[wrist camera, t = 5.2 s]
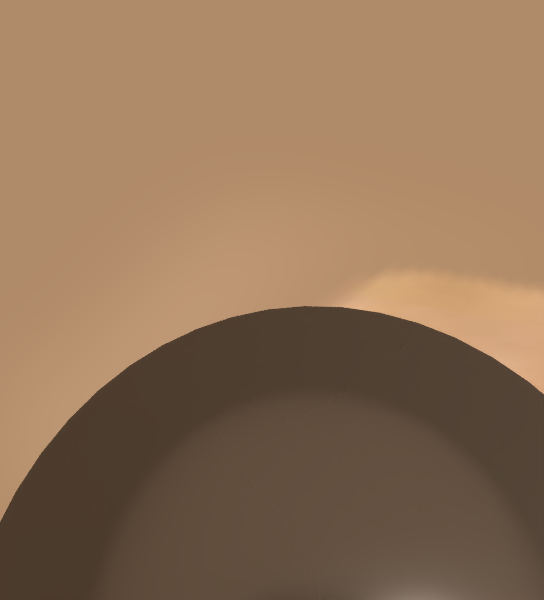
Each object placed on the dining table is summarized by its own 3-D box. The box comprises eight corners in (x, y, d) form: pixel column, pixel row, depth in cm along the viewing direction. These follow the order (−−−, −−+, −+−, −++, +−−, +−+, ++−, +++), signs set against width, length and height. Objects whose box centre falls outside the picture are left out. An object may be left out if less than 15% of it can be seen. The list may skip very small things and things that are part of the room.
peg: (374, 668, 13) (801, 1623, 1) (239, 623, 14) (-224, 1001, 2) (398, 519, 14) (704, 381, 3) (275, 485, 15) (118, 259, 4)
